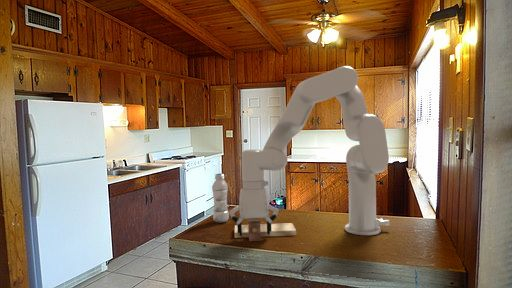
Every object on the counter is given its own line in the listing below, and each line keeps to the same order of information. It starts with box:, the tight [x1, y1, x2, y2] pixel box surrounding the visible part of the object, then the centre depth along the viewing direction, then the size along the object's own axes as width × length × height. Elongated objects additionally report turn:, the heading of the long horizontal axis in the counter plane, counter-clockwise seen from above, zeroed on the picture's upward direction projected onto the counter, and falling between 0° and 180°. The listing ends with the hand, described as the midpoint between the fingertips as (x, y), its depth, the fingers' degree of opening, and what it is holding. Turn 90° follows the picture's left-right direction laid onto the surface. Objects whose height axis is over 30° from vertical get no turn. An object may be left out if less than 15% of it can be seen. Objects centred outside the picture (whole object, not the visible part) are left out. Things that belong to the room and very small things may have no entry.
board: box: [234, 222, 297, 239], centre depth 121 cm, size 22×9×2 cm, turn 93°
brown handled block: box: [247, 219, 262, 242], centre depth 118 cm, size 4×13×6 cm, turn 3°
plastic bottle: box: [211, 173, 230, 223], centre depth 136 cm, size 6×7×20 cm
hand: (254, 234), depth 114 cm, fingers open, 9 cm apart
